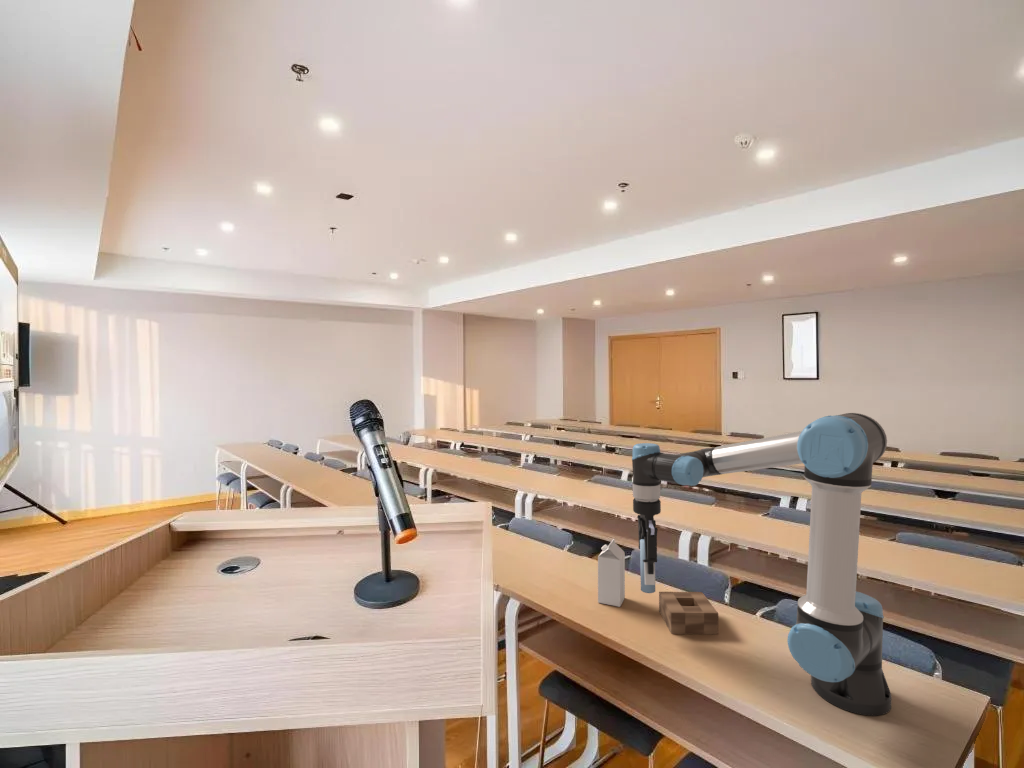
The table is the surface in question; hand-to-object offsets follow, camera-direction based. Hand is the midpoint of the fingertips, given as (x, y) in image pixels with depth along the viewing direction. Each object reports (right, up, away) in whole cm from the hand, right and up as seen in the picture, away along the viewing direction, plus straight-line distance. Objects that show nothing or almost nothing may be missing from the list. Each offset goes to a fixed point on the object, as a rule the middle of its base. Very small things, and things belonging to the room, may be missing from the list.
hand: (647, 580), depth 139 cm
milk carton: (-7, -14, +19) cm, 25 cm away
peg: (0, -3, 0) cm, 3 cm away
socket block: (+13, -14, +5) cm, 20 cm away
